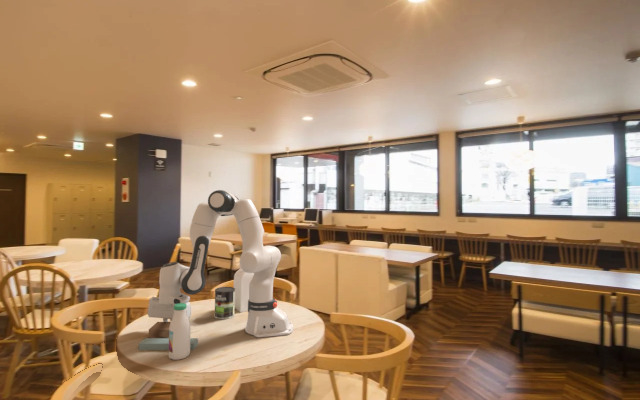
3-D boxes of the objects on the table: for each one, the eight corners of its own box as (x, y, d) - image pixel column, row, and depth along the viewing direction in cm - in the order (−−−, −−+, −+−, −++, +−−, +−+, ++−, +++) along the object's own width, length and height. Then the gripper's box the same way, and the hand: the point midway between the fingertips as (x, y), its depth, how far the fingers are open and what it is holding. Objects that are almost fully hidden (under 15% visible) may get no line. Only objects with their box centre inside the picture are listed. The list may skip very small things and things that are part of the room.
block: (177, 332, 148) (177, 321, 148) (170, 340, 139) (170, 329, 139) (157, 332, 147) (157, 321, 147) (148, 341, 138) (148, 329, 138)
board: (197, 345, 136) (198, 338, 136) (193, 350, 131) (193, 343, 131) (145, 345, 135) (145, 338, 135) (138, 351, 130) (138, 343, 130)
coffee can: (227, 320, 163) (227, 292, 163) (210, 317, 166) (210, 290, 167) (238, 313, 173) (238, 287, 173) (222, 311, 176) (222, 285, 176)
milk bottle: (193, 351, 130) (193, 301, 130) (185, 360, 122) (186, 307, 122) (173, 351, 129) (174, 301, 129) (165, 360, 122) (165, 307, 122)
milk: (259, 308, 182) (260, 262, 182) (240, 312, 175) (241, 264, 175) (250, 303, 192) (251, 259, 192) (232, 306, 185) (232, 261, 185)
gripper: (144, 298, 148) (144, 328, 148) (185, 301, 144) (185, 331, 144) (153, 294, 154) (153, 323, 154) (193, 296, 151) (192, 326, 151)
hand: (169, 327), depth 149 cm, fingers closed
